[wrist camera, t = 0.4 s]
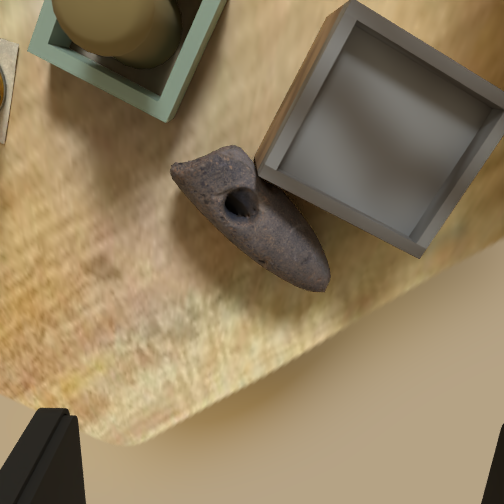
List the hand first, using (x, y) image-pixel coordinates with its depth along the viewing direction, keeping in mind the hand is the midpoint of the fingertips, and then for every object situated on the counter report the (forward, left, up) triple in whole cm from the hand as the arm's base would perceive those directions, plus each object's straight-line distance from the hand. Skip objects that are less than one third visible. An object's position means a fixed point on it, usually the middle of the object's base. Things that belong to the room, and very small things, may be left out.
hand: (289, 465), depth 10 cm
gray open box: (-8, +5, -29) cm, 30 cm away
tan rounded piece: (-7, -13, -29) cm, 32 cm away
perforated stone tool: (+1, +1, -29) cm, 29 cm away
